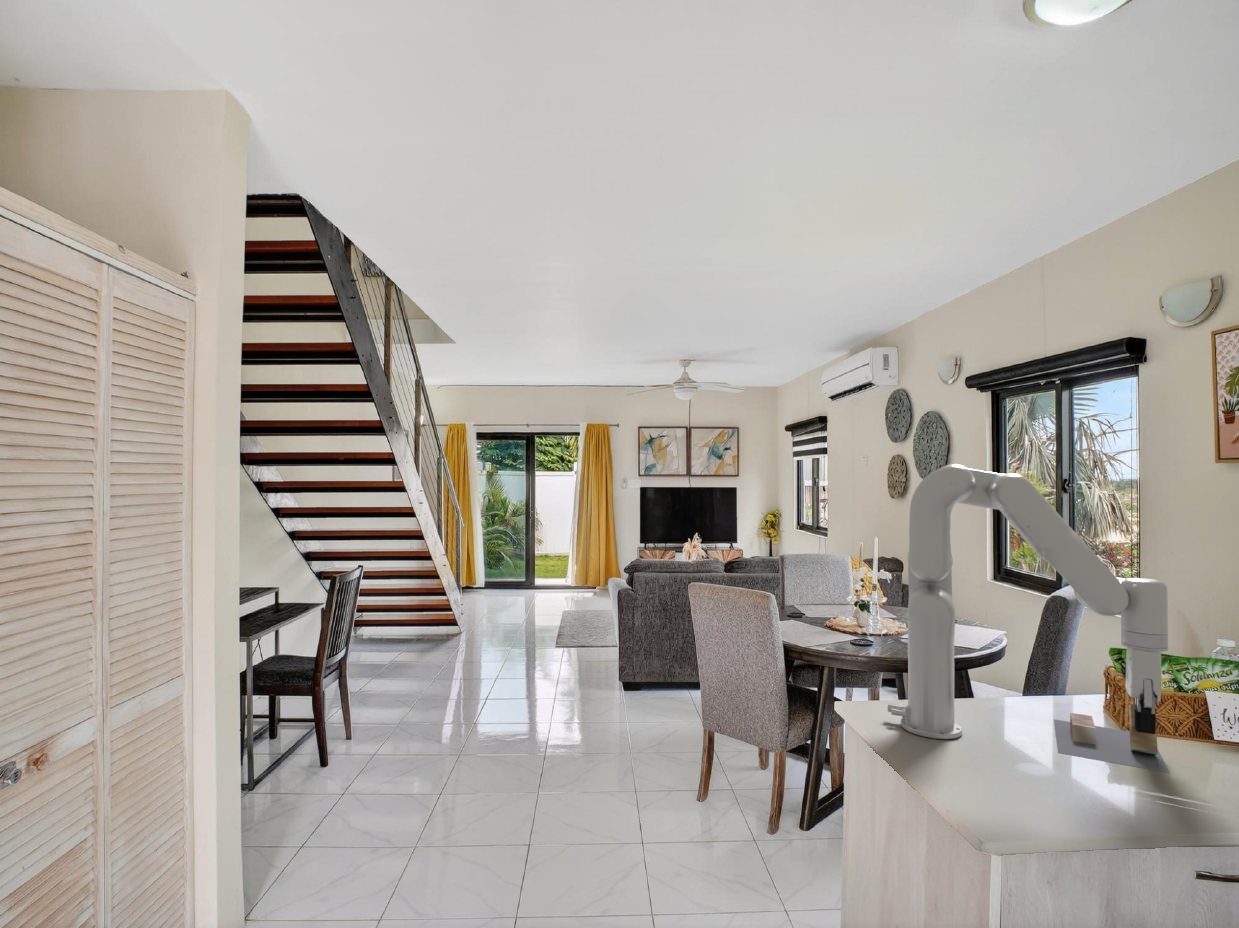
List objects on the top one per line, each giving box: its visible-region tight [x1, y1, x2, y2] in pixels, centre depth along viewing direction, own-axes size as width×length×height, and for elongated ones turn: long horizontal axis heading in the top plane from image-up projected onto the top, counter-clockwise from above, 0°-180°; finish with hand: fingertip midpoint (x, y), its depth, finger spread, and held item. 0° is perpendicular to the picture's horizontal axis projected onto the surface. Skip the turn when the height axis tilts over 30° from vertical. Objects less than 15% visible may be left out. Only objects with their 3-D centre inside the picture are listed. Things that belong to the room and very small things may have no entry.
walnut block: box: [1069, 712, 1096, 745], centre depth 149 cm, size 4×4×9 cm
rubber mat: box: [1053, 718, 1171, 774], centre depth 145 cm, size 18×24×1 cm
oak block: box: [1128, 703, 1159, 755], centre depth 140 cm, size 4×4×9 cm
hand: (1145, 731), depth 137 cm, fingers closed
